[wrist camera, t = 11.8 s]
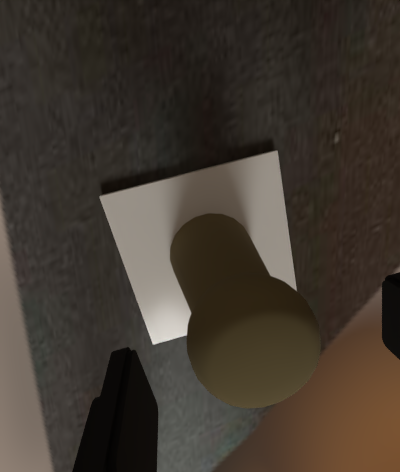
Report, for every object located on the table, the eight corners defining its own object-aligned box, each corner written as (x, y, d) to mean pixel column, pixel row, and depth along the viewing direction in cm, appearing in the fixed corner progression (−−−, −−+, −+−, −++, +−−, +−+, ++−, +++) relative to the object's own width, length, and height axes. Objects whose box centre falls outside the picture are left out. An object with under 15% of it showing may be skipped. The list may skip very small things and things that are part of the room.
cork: (154, 235, 19) (145, 342, 8) (235, 198, 19) (327, 260, 8) (190, 304, 21) (219, 460, 10) (263, 271, 21) (365, 393, 10)
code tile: (272, 150, 19) (277, 150, 18) (293, 297, 23) (298, 302, 22) (101, 194, 18) (99, 196, 18) (153, 338, 22) (153, 344, 21)
